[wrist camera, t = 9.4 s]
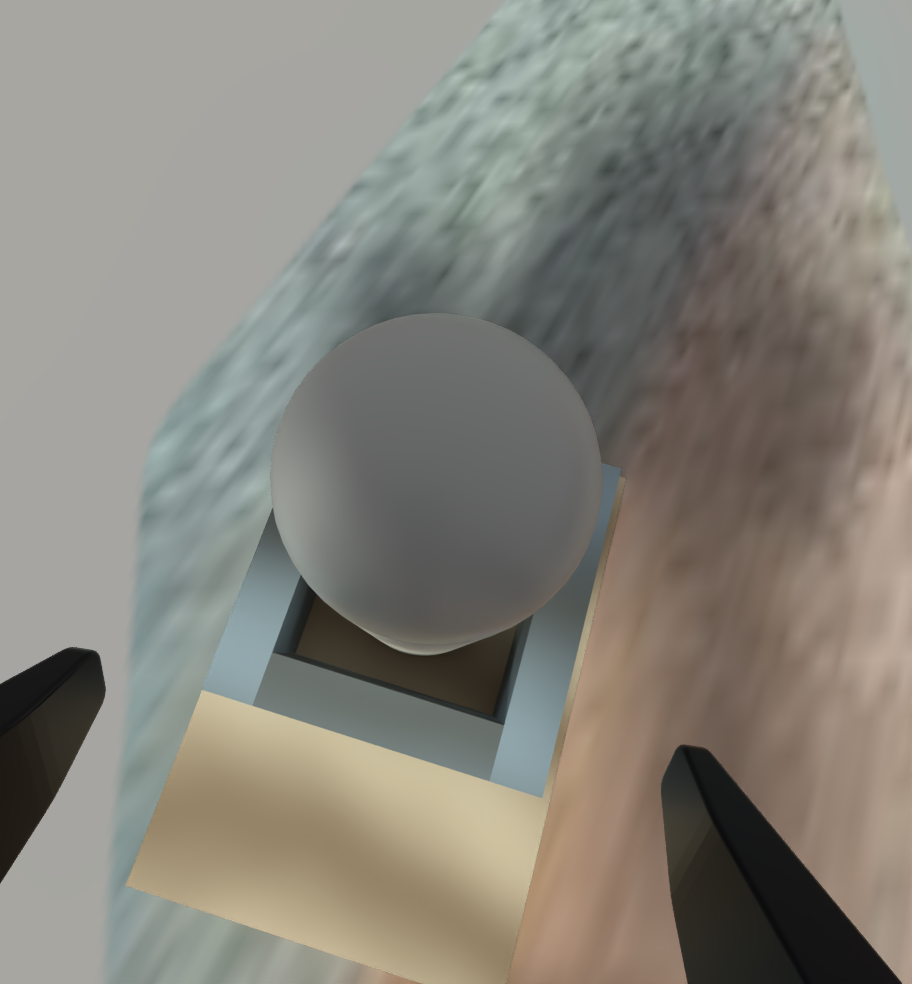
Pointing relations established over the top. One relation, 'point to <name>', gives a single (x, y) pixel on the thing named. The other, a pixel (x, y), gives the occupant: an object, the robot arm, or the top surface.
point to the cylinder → (436, 480)
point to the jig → (372, 775)
